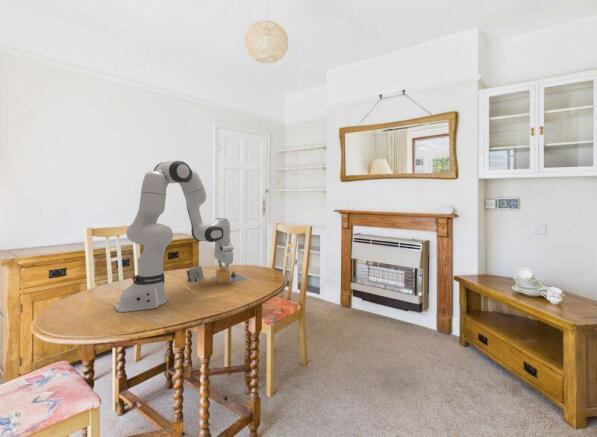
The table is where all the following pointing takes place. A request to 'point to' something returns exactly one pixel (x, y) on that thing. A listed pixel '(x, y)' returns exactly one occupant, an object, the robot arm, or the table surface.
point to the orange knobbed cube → (222, 275)
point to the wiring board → (232, 278)
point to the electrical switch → (195, 274)
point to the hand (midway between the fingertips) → (223, 268)
